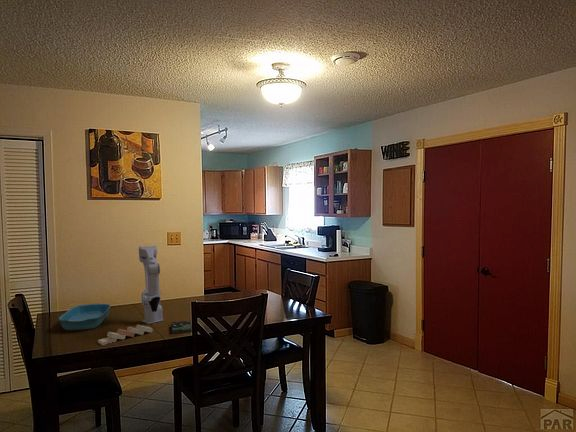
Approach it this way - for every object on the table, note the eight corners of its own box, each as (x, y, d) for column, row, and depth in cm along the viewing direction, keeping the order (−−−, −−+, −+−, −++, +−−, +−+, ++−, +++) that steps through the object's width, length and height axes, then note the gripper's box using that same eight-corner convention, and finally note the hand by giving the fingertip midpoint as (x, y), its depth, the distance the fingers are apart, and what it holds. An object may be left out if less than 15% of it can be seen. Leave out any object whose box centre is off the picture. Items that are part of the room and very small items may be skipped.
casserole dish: (98, 331, 221) (98, 318, 221) (53, 334, 217) (53, 321, 217) (114, 313, 257) (114, 302, 257) (75, 315, 253) (75, 304, 253)
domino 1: (112, 336, 207) (98, 339, 202) (116, 338, 204) (102, 342, 199) (112, 340, 207) (98, 343, 202) (116, 342, 204) (102, 346, 199)
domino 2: (120, 333, 210) (108, 331, 205) (125, 335, 207) (113, 333, 202) (119, 337, 210) (106, 335, 205) (124, 339, 206) (111, 338, 201)
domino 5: (148, 327, 221) (136, 324, 216) (153, 329, 217) (141, 326, 213) (147, 330, 220) (135, 328, 216) (151, 332, 217) (139, 330, 212)
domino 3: (130, 331, 214) (118, 328, 209) (135, 333, 211) (122, 330, 206) (128, 335, 214) (116, 332, 209) (133, 337, 210) (121, 334, 205)
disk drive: (170, 327, 228) (171, 335, 214) (170, 322, 228) (171, 329, 214) (190, 325, 231) (192, 332, 217) (189, 320, 231) (192, 327, 217)
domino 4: (140, 329, 217) (128, 326, 213) (144, 331, 214) (132, 328, 209) (138, 332, 217) (126, 330, 212) (143, 334, 213) (130, 332, 209)
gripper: (152, 283, 231) (152, 307, 231) (140, 289, 216) (141, 314, 217) (164, 283, 230) (164, 307, 231) (153, 289, 216) (154, 315, 216)
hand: (154, 311), depth 224 cm, fingers closed
